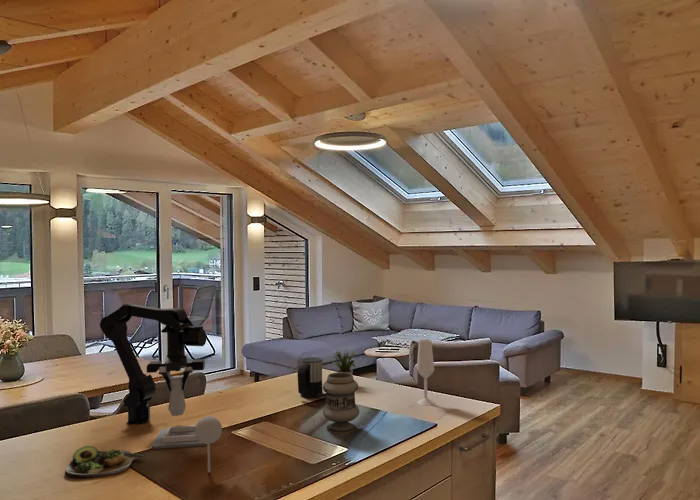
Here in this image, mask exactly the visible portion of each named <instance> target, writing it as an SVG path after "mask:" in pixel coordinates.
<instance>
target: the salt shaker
mask: <svg viewBox="0 0 700 500" xmlns="http://www.w3.org/2000/svg"><path fill="white" fill-rule="evenodd" d="M170 383H171V391H170V395H169V401H168V407H167V409H168V411H169V413H170V415H171V416H172V417H173V416H175V417H178V416H182V415H183V414H184V412H185V410H186V408H187V407H186V406H187V405H186V400H185V395H184V391H182V383H183V375H173V376H171V378H170Z"/></svg>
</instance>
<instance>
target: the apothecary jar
mask: <svg viewBox="0 0 700 500" xmlns="http://www.w3.org/2000/svg"><path fill="white" fill-rule="evenodd" d="M326 378H327V379H326V381H325V382H324V383H322V390H323V393H326V397H325V398H326V404H325V406H324V407H323V410H322V414H323V416H324V418H325V419H326V420H328V421H330V422H332V423H329V424H327V426H326V430H327V431H328V432H331V433H333V434H349V433H350V434H351V433H352V432H354V431H356V429H357V426H356V425H355V424H354V423H352V421H353V420H355V419H356V418H357V417H358V416H359V414H360V408H359V406H357V404H356V392H357V391H358V390H359V384H358V382H357V381H356V380H354V375H353V374H351V373H347V372H337V371H336V372H332V373H329V374H327V377H326Z"/></svg>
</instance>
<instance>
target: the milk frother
mask: <svg viewBox="0 0 700 500" xmlns="http://www.w3.org/2000/svg"><path fill="white" fill-rule="evenodd" d="M323 360H324V359H323V358H321V357H316V356H315V357H313V356H311V357H309V356H308V357H302V358H300V361H301V362H300V363H301V364H300V366H299V367H298V370H297V375H296V376H297V390H298V393H299V394H300V396H301V397H303V398H306V399H316V398H326V392H324V390H323Z"/></svg>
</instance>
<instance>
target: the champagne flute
mask: <svg viewBox="0 0 700 500" xmlns="http://www.w3.org/2000/svg"><path fill="white" fill-rule="evenodd" d="M432 343H433V342H432V340H431V339H423V338H422V339H418V346H417V348H418V349H417V360H416V371H417V373H418V374H419V375H420V376H421V377H422V378H423V395H424V396H423V398H421V399H420V400H418V401H417V402H416V403H417V405H421V406H432V405H435V402H434V401H433V400H432V399H430V398H429V397H428V378H429V377H430V376H431V375H433V373H434V371H435V364H434V363H435V362H434V353H433V344H432Z"/></svg>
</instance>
